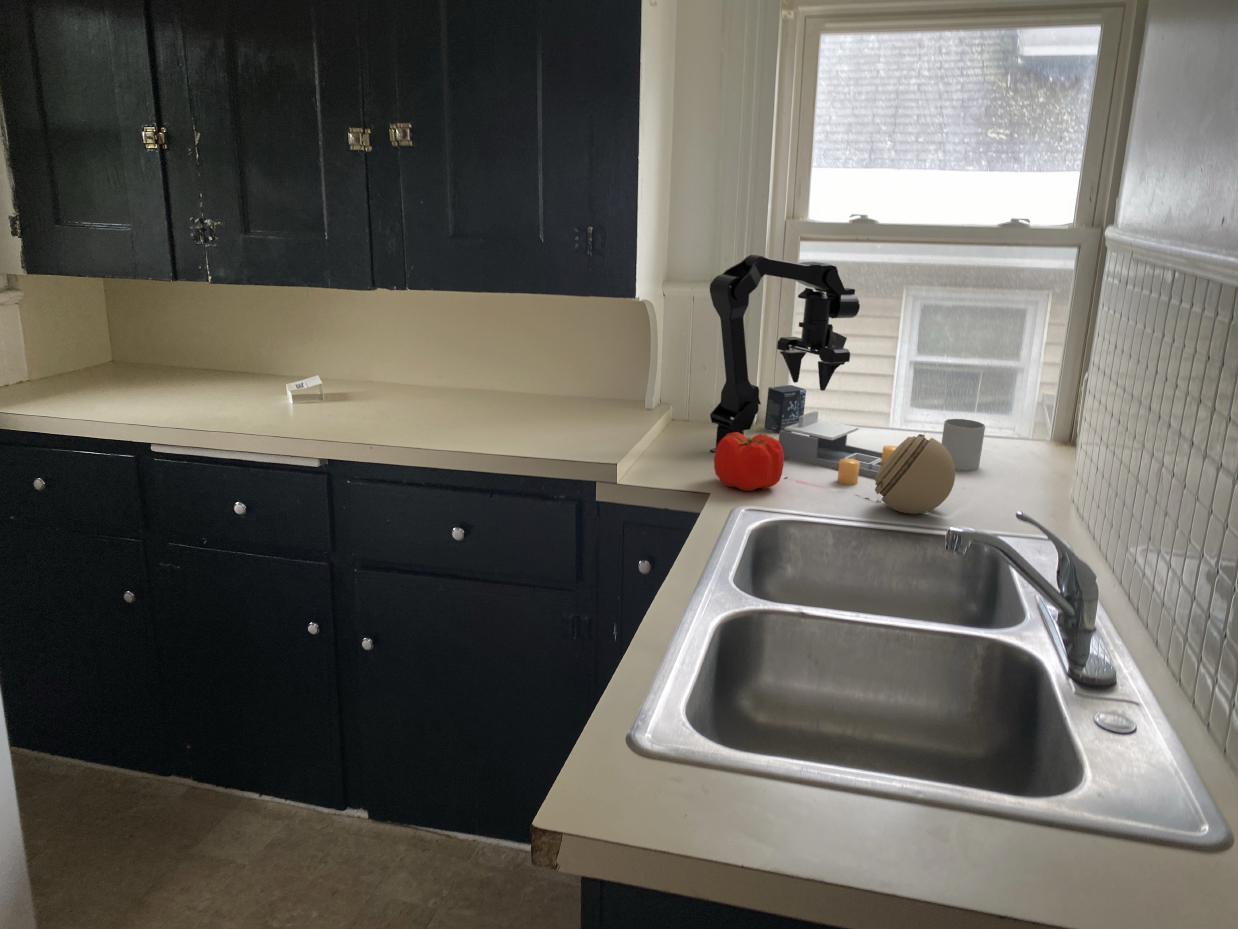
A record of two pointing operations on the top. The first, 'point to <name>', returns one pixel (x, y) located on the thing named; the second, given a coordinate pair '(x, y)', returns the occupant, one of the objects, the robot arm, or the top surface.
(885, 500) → the mechanical component
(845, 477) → the orange rounded cylinder
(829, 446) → the housing
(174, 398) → the top surface
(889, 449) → the orange cylinder
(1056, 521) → the top surface
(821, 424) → the lid
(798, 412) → the box
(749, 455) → the tomato
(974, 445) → the cup
